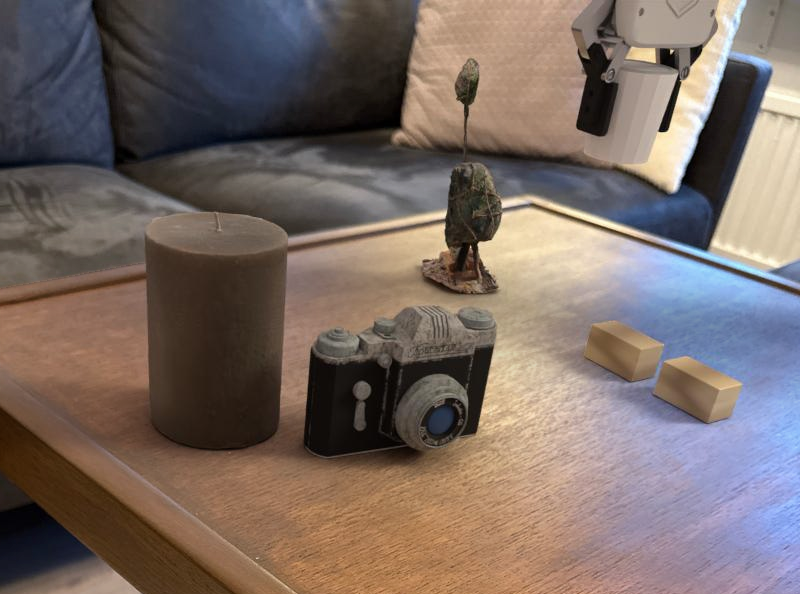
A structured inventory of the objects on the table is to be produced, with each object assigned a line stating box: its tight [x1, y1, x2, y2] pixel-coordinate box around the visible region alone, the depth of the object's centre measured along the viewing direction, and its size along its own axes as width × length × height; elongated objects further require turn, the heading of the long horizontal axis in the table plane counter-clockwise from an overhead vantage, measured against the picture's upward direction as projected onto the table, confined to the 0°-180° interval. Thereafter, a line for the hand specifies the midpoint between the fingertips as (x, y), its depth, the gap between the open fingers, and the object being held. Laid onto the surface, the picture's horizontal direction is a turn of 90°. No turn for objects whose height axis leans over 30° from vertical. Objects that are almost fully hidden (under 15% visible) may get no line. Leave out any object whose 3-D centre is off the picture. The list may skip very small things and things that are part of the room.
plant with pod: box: [421, 57, 504, 295], centre depth 96 cm, size 8×11×20 cm
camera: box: [302, 304, 499, 459], centre depth 70 cm, size 15×7×10 cm, turn 115°
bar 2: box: [652, 355, 744, 424], centre depth 82 cm, size 6×3×3 cm, turn 32°
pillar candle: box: [144, 210, 289, 450], centre depth 69 cm, size 10×10×15 cm
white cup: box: [583, 58, 678, 165], centre depth 84 cm, size 7×7×7 cm
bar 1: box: [583, 319, 665, 383], centre depth 87 cm, size 6×3×3 cm, turn 32°
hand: (622, 129), depth 85 cm, fingers closed on white cup, 6 cm apart
